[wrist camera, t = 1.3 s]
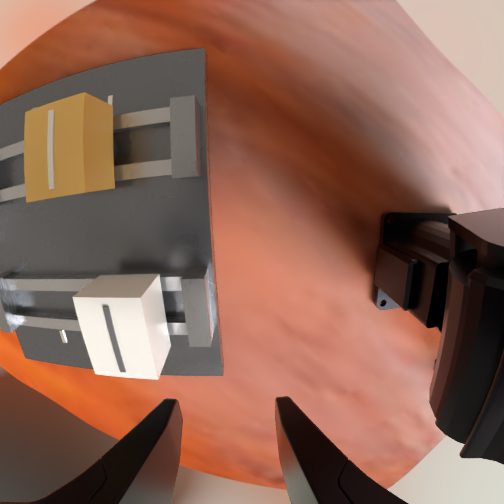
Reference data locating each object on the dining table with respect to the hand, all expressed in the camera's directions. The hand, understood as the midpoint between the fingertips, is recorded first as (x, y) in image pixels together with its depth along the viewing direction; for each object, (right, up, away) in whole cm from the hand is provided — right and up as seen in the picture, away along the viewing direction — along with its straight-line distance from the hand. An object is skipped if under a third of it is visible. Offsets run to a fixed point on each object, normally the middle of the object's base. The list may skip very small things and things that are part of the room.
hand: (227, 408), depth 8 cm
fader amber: (-8, +11, +6) cm, 15 cm away
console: (-10, +6, +8) cm, 15 cm away
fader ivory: (-6, +2, +8) cm, 10 cm away
